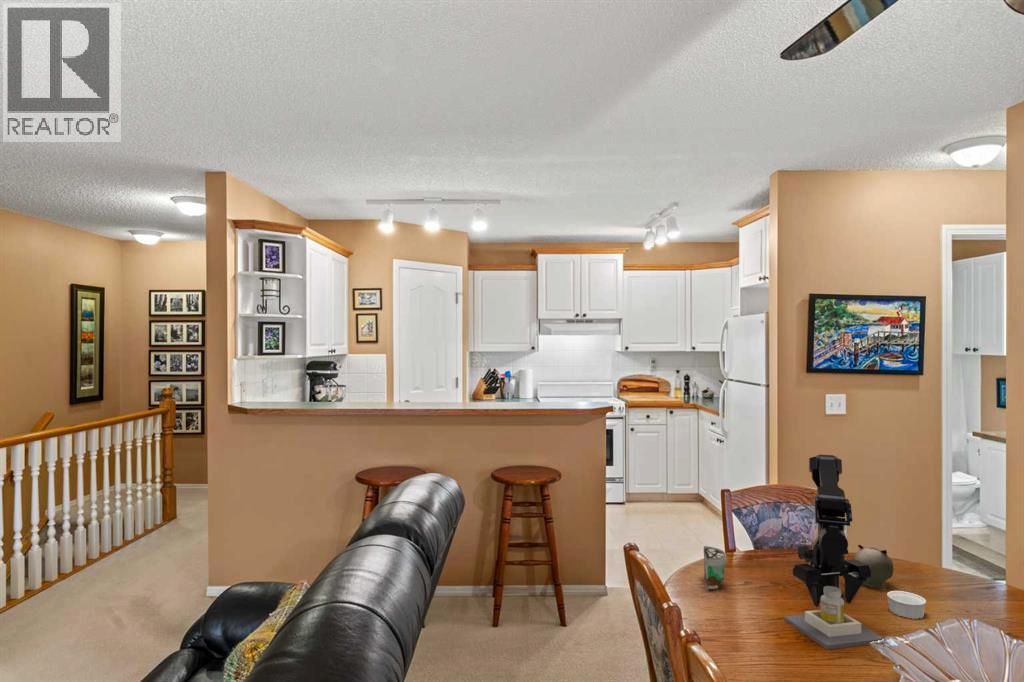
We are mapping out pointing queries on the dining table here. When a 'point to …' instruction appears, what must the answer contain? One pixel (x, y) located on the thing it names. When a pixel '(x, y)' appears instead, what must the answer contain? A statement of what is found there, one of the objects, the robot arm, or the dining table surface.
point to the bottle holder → (832, 630)
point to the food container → (714, 568)
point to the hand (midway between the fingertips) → (832, 604)
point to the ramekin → (906, 604)
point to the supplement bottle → (832, 606)
